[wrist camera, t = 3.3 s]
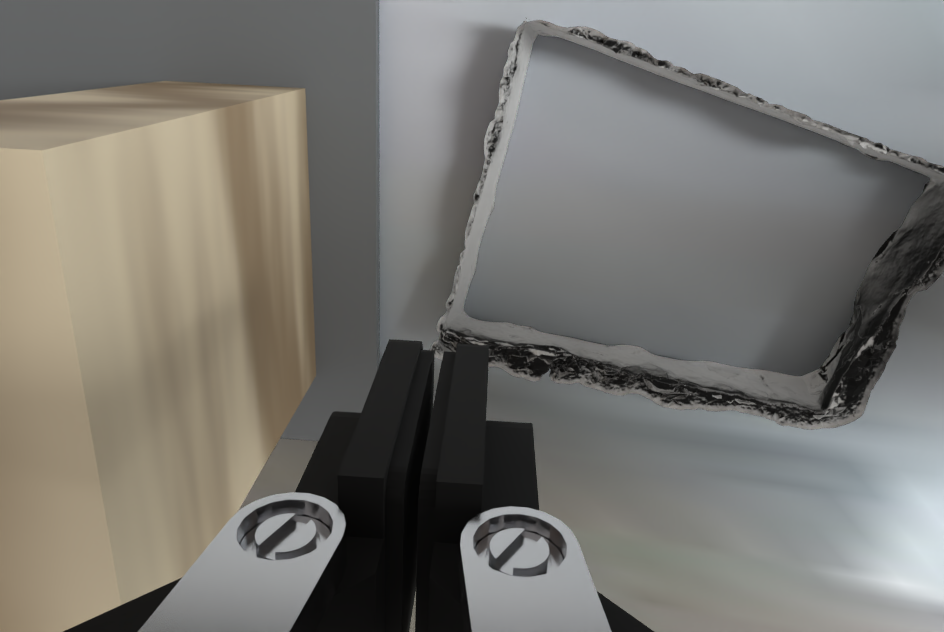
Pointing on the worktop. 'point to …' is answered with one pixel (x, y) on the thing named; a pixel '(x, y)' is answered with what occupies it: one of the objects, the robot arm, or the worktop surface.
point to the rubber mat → (259, 64)
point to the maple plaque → (143, 331)
